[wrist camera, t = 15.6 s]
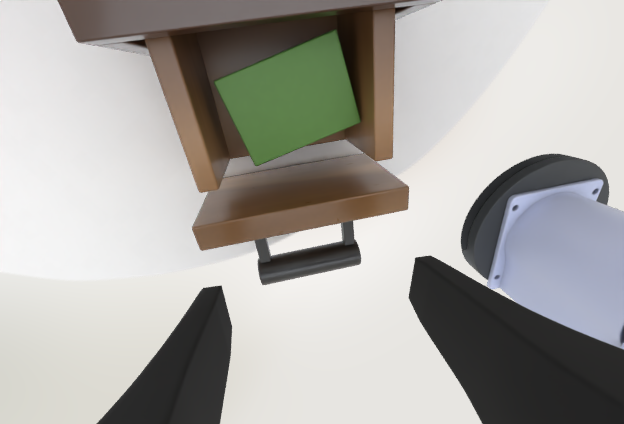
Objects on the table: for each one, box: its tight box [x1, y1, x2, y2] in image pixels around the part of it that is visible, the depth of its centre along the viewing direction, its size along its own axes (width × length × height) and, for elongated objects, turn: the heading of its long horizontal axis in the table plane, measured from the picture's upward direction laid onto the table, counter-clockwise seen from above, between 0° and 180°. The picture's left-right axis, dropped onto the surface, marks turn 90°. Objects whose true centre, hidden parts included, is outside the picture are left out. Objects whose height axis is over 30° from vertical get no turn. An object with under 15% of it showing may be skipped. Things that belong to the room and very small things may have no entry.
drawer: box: [144, 8, 409, 285], centre depth 13 cm, size 16×9×6 cm, turn 7°
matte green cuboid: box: [214, 29, 361, 166], centre depth 12 cm, size 5×4×3 cm
